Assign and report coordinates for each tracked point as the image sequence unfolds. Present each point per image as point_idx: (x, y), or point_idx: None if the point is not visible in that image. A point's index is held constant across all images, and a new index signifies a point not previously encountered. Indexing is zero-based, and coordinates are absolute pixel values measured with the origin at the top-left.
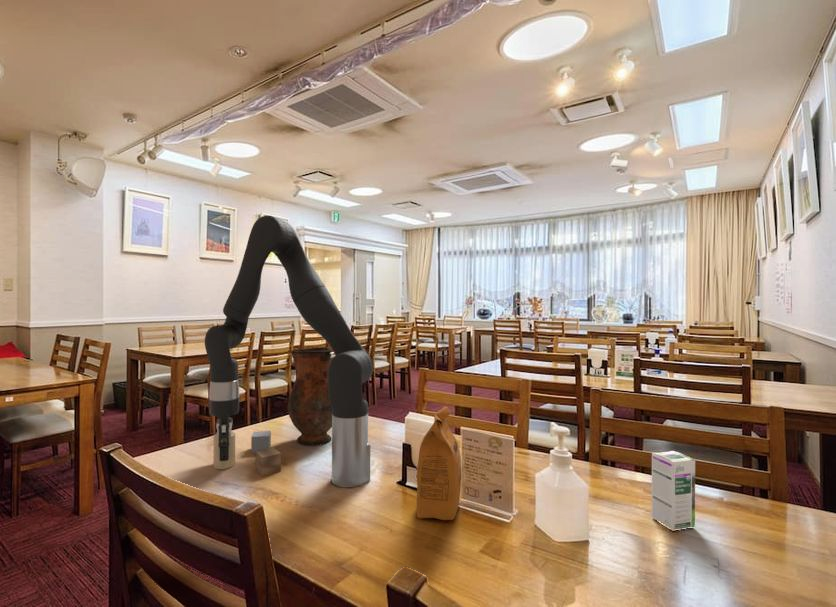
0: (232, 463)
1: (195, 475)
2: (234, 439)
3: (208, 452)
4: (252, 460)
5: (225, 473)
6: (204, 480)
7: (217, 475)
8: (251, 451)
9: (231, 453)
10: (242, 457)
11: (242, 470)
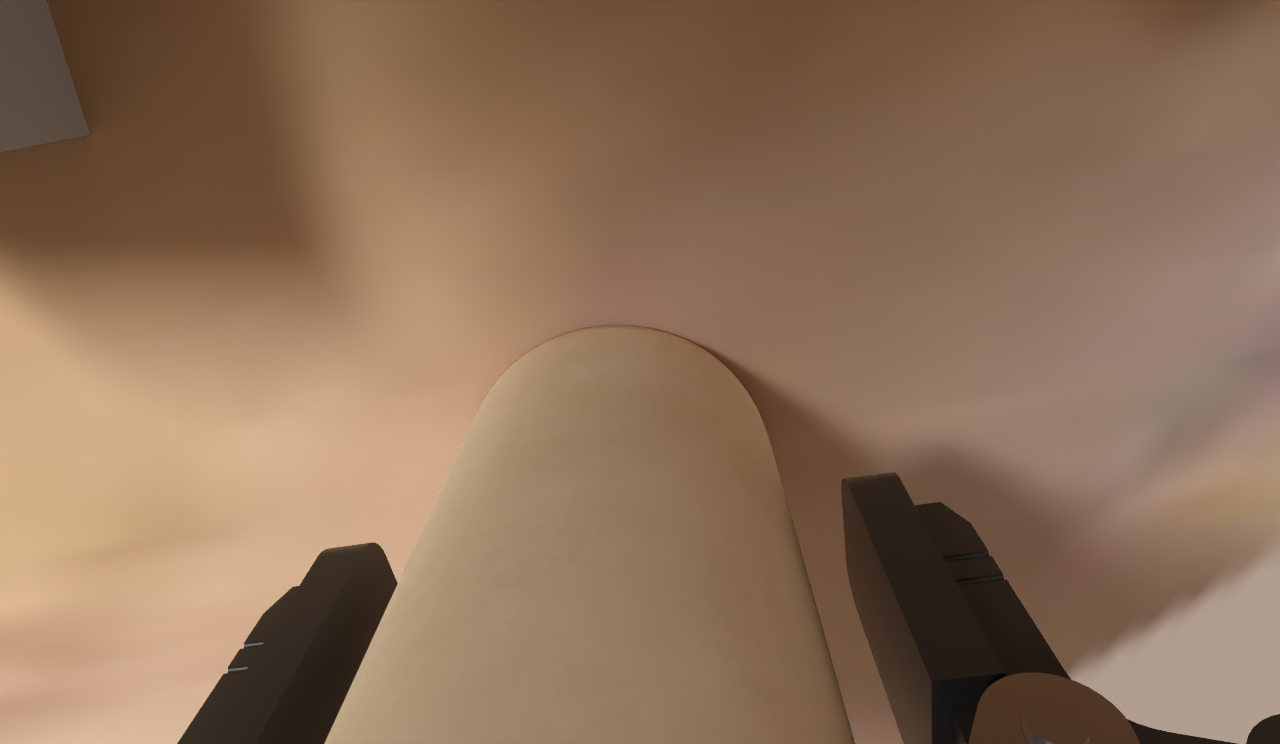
0: (703, 366)
1: (859, 686)
2: (658, 670)
3: (134, 702)
4: (459, 49)
5: (930, 392)
6: (1061, 580)
7: (961, 476)
8: (62, 137)
9: (741, 480)
10: (304, 260)
11: (904, 159)
